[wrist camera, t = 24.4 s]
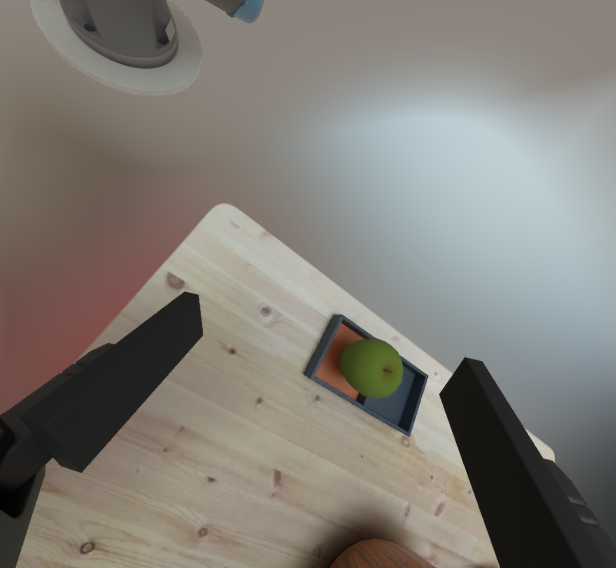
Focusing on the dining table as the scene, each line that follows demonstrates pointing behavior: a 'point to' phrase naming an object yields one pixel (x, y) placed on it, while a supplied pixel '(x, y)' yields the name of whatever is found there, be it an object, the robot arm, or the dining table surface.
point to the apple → (371, 367)
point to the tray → (327, 373)
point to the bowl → (379, 556)
